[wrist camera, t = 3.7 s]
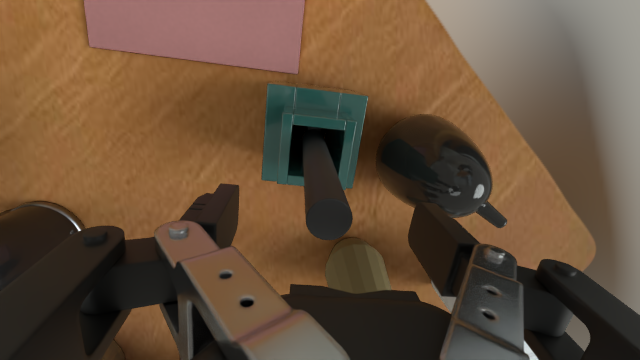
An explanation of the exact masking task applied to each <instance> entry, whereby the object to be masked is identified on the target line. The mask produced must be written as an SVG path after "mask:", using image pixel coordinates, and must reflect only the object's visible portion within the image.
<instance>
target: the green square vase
mask: <svg viewBox="0 0 640 360" xmlns="http://www.w3.org/2000/svg"><path fill="white" fill-rule="evenodd" d="M367 101H368V96H366V95H363V94H360V93H358V92H355V91H352V90H345V89H337V88H329V87H321V86H314V85H306V84H297V83H290V82H283V81H274V82H271V83H268V84H267V99H266V115H265V132H264V148H263V164H262V180H266V181H277V184H288V185H298V186H304V168H303V146H302V140H301V139H292V131H293V125H300V126H308V127H317V128H326V130H325V138H324V140H325V143H326V145H327V148H328V151H329V153H330V156H331V159H332V161H333V164H334V167H335V169H336V172H337V175H338V177H339V180H340V183H341V185H342V188H343V190H345V189H346V188H353V182H354V176H355V170H356V165H357V159H358V153H359V147H360V141H361V136H362V130H363V124H364V118H365V112H366V107H367Z"/></svg>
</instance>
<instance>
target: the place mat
mask: <svg viewBox="0 0 640 360" xmlns="http://www.w3.org/2000/svg"><path fill="white" fill-rule="evenodd" d="M304 3H305V0H84V7H85V15H86V23H87V31H88V39H89V46H90V47H94V48H102V49H110V50H117V51H125V52H132V53H140V54H148V55H155V56H163V57H170V58H178V59H186V60H193V61H201V62H208V63H216V64H224V65H231V66H239V67H246V68H254V69H262V70H269V71H277V72H284V73H292V74H298V67H299V56H300V46H301V35H302V24H303V14H304Z"/></svg>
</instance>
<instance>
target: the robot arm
mask: <svg viewBox="0 0 640 360" xmlns="http://www.w3.org/2000/svg"><path fill="white" fill-rule="evenodd" d="M238 210H239V185H232V184H220V185H219V186H218V188H217V189H216V191H215V192H214V194H210V193H206V194H204V195H202V196H200V197H198V198H197V199H196V200H195V201H194V203H193V205H191V206H190V208H189V209H188V210H187V211H186V212H185V214H184V215H183V216H182V217H181V219H180V220H179V221H173V222H168V223H165V224H163V225H161V226H159V227H158V228H157V229H156V230H155V232H154V237H151V238H143V239H133V240H125V236H124V231H123V230H122V229H120V228H118V227H114V226H97V227H91V228H87V229H85V227H84V225H83V224H82V222H81V221H80V220H79V219H78V218H77V217H76V216H75V215H74V214H73V213H71V212H70V211H68V210H67V209H65V208H63V207H61V206H59V205H56V204H53V203H49V202H39V201H38V202H30V203H26V204H23V205H21V206H19V207H17V208H15V209H13V210H6V211H4V212H2V213H0V360H101V358H102V357H103V355H104V354H105V352H106V350H107V349H108V347H109V346H110V344H111V342H112V341H113V339H114V337H115V336H116V334H117V333H118V331H119V329H120V328H121V326H122V325H123V323H124V321H125V320H126V318H127V316H128V315H129V313H130V311H131V309H133V308H138V307H144V306H149V305H155V304H159V306H160V309H161V311H162V313H163V316H164V318H165V320H166V322H167V325H168V327H169V329H170V331H171V334H172V336H173V338H174V340H175V342H176V345H177V348H178V351H179V355H180V360H530V358H529V355H528V354H526V353H525V352H524V341H525V342H526V344H527V345H528V346H529V348H530V349H531V350H532V351H533V353H534V354H535V355H536V357H537V358H538V359H539V360H640V315H638V314H637V313H636V312H635V311H633V310H632V309H631V308H629V307H628V306H627V305H625V304H624V303H622V302H621V301H620V300H619V299H617V298H616V297H615V296H613V295H612V294H611V293H609V292H608V291H607V290H605V289H604V288H603V287H601V286H600V285H599V284H597V283H596V282H594V281H593V280H592V279H591V278H589V277H588V276H587V275H585V274H584V273H582V272H581V271H579V270H578V269H576V268H574V267H572V266H571V265H569V264H566V263H563V262H559V261H556V260H551V259H544V260H541V262H540V264H539V266H538V268H537V270H533V269H529V268H525V267H521V266H517V261H516V259H515V258H514V257H513V256H512V255H511V254H510V253H508V252H506V251H505V250H503V249H501V248H498V247H495V246H492V245H488V244H480V243H479V242H478V241H477V240H476V239H475V238H474V237H473V236H472V235H471V234H470V233H468V231H467V230H466V229H465V228H462V226H461V225H460V224H459V223H458V222H457V221H456V220H454V219H453V218H451V217H449V216H448V215H447V214H446V213H445V212H444V211H443V210H442V209H441V208H440V207H439V206H438V205H437V204H435V203H425V202H418V203H417V204H416V206H415V209H414V213H413V217H412V221H411V225H410V229H409V233H408V242H409V245H410V247H411V249H412V250H413V252H414V254H415V255H416V257H417V258H418V260H419V262H420V263H421V265H422V266H423V268H424V269H425V271H426V273H427V274H428V276H429V277H430V279H431V281H432V282H433V284H434V285H435V287H436V288H437V290H438V292H439V293H440V295H441V296H443V297H456V300H455V303H454V306H453V309H452V312H451V314H450V313H448V312H446V311H444V310H442V309H440V308H438V307H436V306H433V305H431V304H428V303H425V302H421V301H420V300H419V298H418V296H417V294H416V292H414V291H397V290H381V291H374V292H367V293H360V294H354V293H349V292H345V291H341V290H337V289H332V288H328V287H324V286H312V285H296V284H291V285H290V294H285V295H281V296H280V295H279V294H278V293H277V292H276V291H275V290H274V289H273V287H272V286H271V285H270V284H269V283H268V282H267V281H266V280H265V279H264V278H263V277H262V276H261V275H260V274H259V272H258V271H257V270H256V269H255V268H254V267H253V266H252V265H251V264H250V263H249V262H248V261H247V260H246V259H245V257H244V256H243V255H242V254H241V253H240V252H239V251H238V250H237V249H236V248H235V247H234V246H231V243H232V241H233V238H234V236H235V233H236V230H237V225H238ZM573 315H575V316H576V317H578V318H579V319H580V320H581V321H582V322H583V323H584V324H585V325H586V327H587V328H588V330H589V333H590V343H589V345H588V347H587V349H586V350H585V352H584V351H583V350H582V349H581V348H580V346H579V345H577V343H576V342H575V341H574V340H572V338H571V337H570V336H569V335H568V334H567V333H566V332H565V330H566V328H567V326H568V324H569V322H570V320H571V318H572V316H573Z"/></svg>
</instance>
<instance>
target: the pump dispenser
mask: <svg viewBox="0 0 640 360" xmlns="http://www.w3.org/2000/svg"><path fill="white" fill-rule="evenodd" d="M376 170H377V174H378V176H379V179H380V181H381V182H382V184H383V185H384V186H385V188H386V189H387V190H388V191H389V192H390V193H391V194H392V195H394V196H395V197H396V198H398V199H399V200H401V201H402V202H404V203H405V204H407V205H409V206H411V207H413V208H415V206H416V204H417V203H418V202H425V203H435V204H437V205H438V206H439V207H440V208H441V209H442V210H443V211H444V212H445V213H446V214H447V215H448V216H449V217H451V218H459V217H464V216H468V215H470V214H473V213H475V212H476V213H477V214H479V215H480V216H482V217H483V218H484V219H486V220H487V221H489V222H490V223H491V224H493V225H494V226H496V227H497V228H502V227H504V226H505V225H506V224H507V219H506V218H505V217H504V216H503V215H501V214H500V213H499V212H498V211H497V210H496V209H495V208H494V207H493V206H492V205H491V204H490V203H489V202H488V199H489V197H490V195H491V192H492V187H493V179H492V173H491V170H490V167H489V164H488V162H487V160H486V158H485V156H484V155H483V153H482V152H481V151H480V149H479V148H478V147H477V145H476V144H475V143H474V142H473V141H472V140H471V138H470V137H469V136H468V135H467V134H466V133H464V132H463V131H462V130H461V129H460V128H458V127H457V126H456V125H454V124H453V123H451V122H450V121H448V120H446V119H444V118H441V117H438V116H435V115H430V114H420V115H414V116H410V117H408V118H405V119H403V120H401V121H400V122H398V123H397V124H395V125H394V126H393V127H392V128H391V129H390V130H389V131H388V132H387V133H386V134H385V136H384V137H383V139H382V140H381V142H380V144H379V147H378V150H377V154H376Z"/></svg>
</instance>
